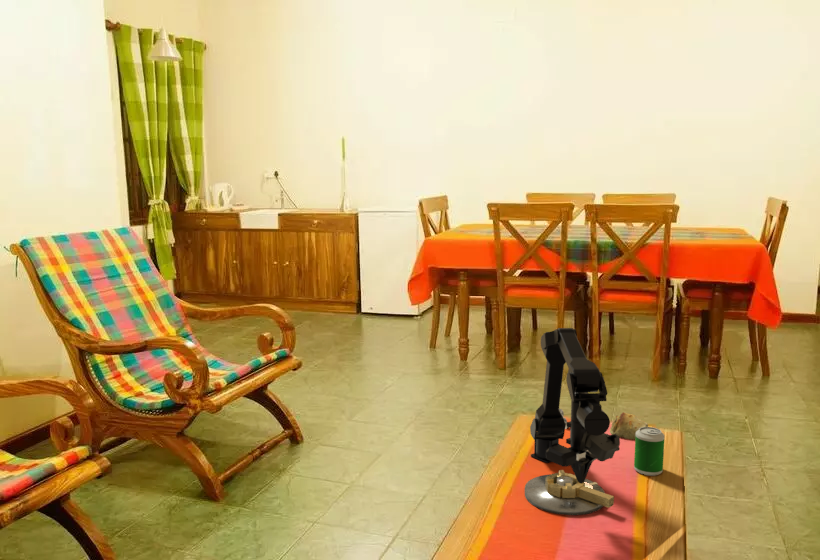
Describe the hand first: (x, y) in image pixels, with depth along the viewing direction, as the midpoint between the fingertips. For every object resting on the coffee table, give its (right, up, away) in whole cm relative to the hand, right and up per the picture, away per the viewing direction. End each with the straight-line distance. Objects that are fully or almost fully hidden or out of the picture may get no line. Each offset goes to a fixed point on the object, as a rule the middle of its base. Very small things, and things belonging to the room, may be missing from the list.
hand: (581, 482), depth 167 cm
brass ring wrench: (+2, -5, +9) cm, 10 cm away
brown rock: (+27, -1, +51) cm, 58 cm away
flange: (-1, -7, +12) cm, 14 cm away
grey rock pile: (+8, -1, +55) cm, 55 cm away
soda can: (+25, -5, +26) cm, 36 cm away
